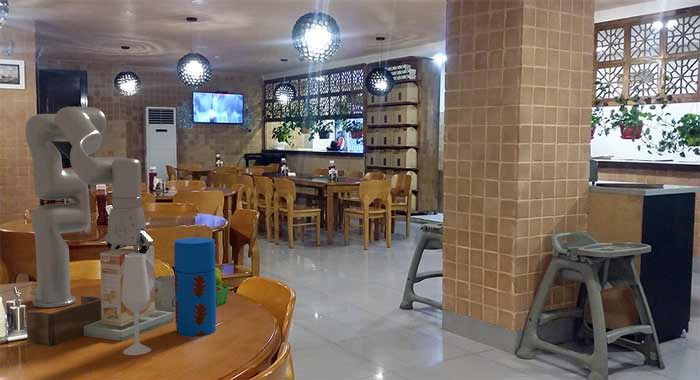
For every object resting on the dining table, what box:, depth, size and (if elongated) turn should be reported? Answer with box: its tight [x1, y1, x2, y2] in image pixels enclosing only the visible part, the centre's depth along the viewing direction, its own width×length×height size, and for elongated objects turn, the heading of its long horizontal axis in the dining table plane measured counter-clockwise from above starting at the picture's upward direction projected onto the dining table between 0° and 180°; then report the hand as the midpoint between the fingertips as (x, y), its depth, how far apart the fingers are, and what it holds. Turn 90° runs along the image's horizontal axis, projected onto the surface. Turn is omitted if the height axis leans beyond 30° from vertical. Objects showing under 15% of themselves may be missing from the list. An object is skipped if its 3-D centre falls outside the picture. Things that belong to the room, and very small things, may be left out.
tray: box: [83, 309, 174, 342], centre depth 186 cm, size 13×21×2 cm, turn 156°
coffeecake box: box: [99, 245, 156, 326], centre depth 185 cm, size 15×7×20 cm, turn 160°
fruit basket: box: [215, 266, 231, 307], centre depth 215 cm, size 11×9×11 cm
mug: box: [155, 275, 175, 313], centre depth 205 cm, size 8×13×10 cm, turn 78°
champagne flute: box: [122, 254, 152, 356], centre depth 166 cm, size 7×7×24 cm
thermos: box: [173, 237, 217, 338], centre depth 183 cm, size 11×11×25 cm
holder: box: [25, 295, 101, 347], centre depth 180 cm, size 8×19×8 cm, turn 156°
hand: (128, 267), depth 185 cm, fingers closed on coffeecake box, 7 cm apart
